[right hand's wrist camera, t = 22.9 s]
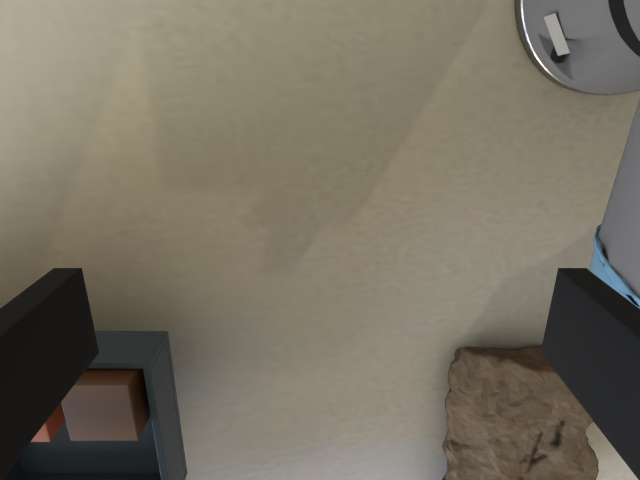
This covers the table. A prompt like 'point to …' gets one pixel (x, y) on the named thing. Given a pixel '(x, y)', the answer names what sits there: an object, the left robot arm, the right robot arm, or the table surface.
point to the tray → (119, 455)
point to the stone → (513, 419)
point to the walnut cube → (107, 405)
